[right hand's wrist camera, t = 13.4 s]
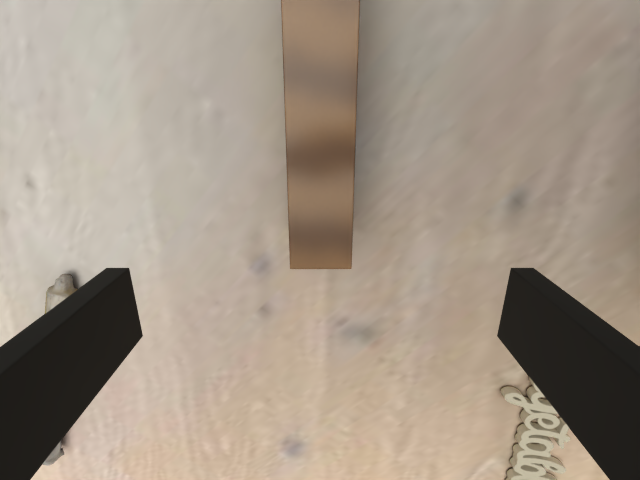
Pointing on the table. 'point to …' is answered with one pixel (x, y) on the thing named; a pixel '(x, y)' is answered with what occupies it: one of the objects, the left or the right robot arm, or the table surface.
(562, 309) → the right robot arm
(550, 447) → the decorative sign
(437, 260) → the table surface
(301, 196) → the post
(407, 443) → the table surface
